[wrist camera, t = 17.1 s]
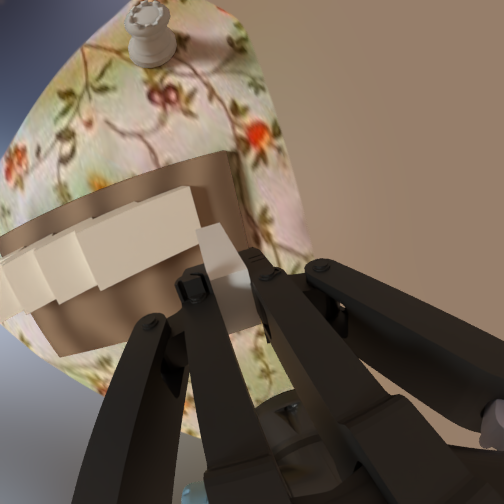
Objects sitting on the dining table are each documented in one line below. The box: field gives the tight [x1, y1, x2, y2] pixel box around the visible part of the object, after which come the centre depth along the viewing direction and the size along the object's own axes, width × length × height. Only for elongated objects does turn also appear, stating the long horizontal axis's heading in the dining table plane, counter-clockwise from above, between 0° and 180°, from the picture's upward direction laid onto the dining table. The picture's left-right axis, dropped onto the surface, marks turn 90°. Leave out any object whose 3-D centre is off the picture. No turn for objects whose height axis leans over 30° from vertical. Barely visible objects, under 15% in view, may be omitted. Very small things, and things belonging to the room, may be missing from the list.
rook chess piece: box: [124, 0, 177, 68], centre depth 15 cm, size 4×4×8 cm
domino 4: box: [75, 186, 201, 291], centre depth 21 cm, size 2×5×10 cm
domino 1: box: [0, 233, 54, 323], centre depth 19 cm, size 2×5×10 cm
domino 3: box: [33, 201, 138, 305], centre depth 21 cm, size 2×5×10 cm
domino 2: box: [2, 217, 92, 315], centre depth 20 cm, size 2×5×10 cm
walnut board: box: [0, 150, 249, 357], centre depth 25 cm, size 26×16×2 cm, turn 102°
